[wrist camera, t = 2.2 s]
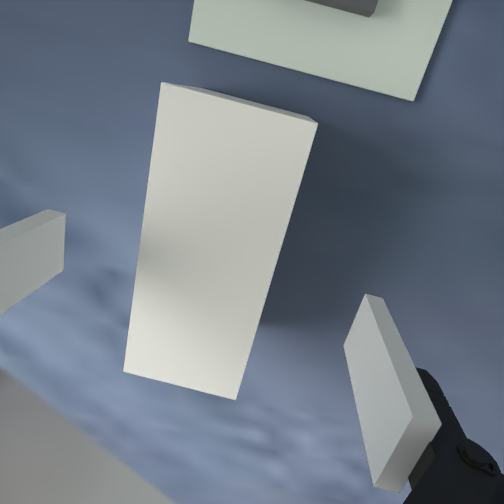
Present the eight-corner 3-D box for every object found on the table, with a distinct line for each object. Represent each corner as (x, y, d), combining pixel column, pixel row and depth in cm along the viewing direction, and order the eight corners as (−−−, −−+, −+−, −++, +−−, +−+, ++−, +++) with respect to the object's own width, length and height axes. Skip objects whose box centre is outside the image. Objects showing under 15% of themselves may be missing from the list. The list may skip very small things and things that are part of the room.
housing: (248, 324, 26) (235, 400, 19) (164, 302, 25) (123, 371, 19) (307, 116, 20) (318, 123, 14) (201, 88, 20) (161, 82, 14)
